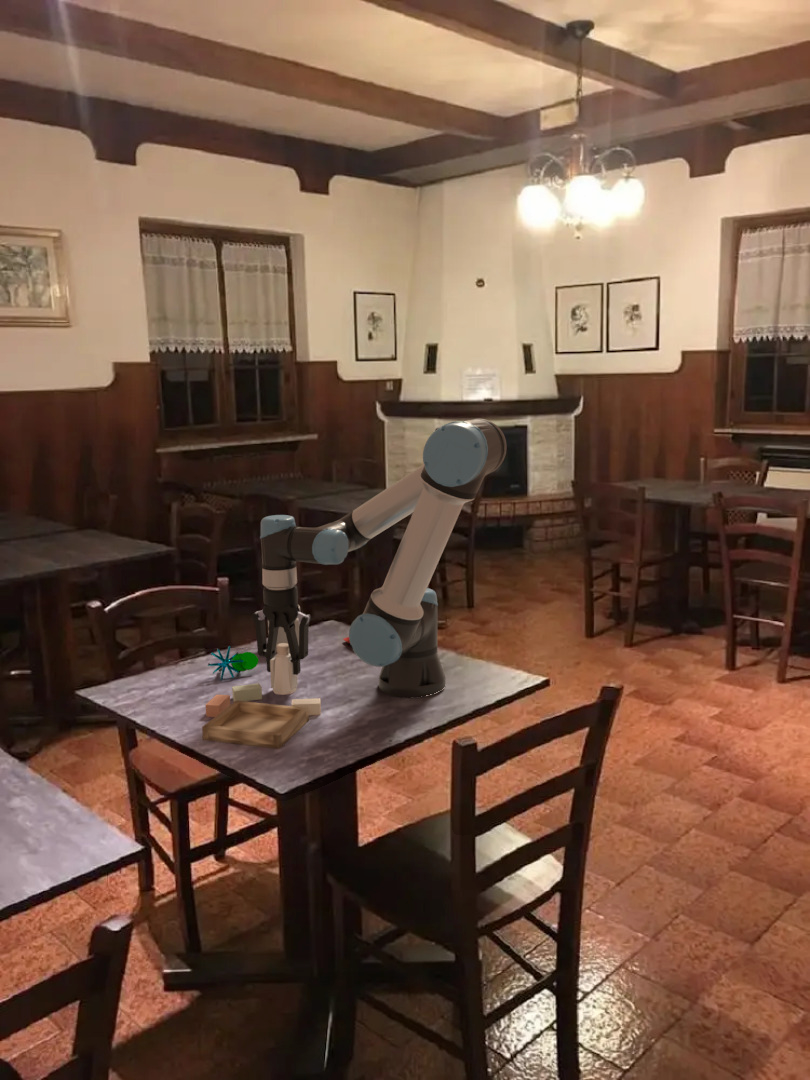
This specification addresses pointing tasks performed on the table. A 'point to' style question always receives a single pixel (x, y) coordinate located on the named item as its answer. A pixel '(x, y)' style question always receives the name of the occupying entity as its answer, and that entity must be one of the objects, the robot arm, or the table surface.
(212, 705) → the terracotta brick
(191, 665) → the table surface
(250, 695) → the sage brick
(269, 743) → the oak tray
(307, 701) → the cream brick
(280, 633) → the mug
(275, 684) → the pepper shaker
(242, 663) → the stick construction toy
